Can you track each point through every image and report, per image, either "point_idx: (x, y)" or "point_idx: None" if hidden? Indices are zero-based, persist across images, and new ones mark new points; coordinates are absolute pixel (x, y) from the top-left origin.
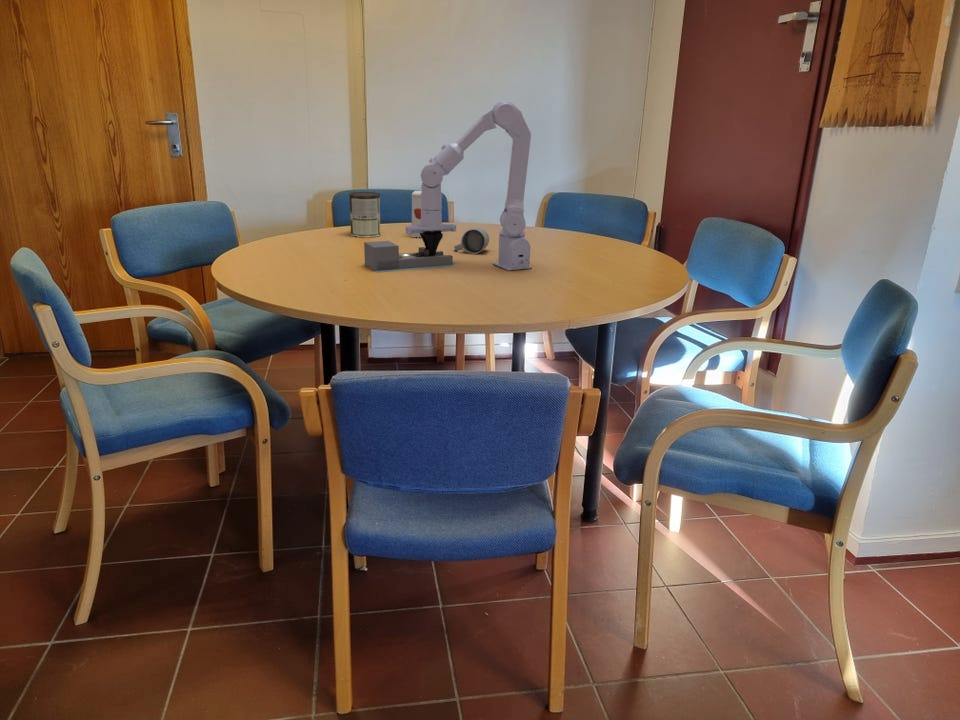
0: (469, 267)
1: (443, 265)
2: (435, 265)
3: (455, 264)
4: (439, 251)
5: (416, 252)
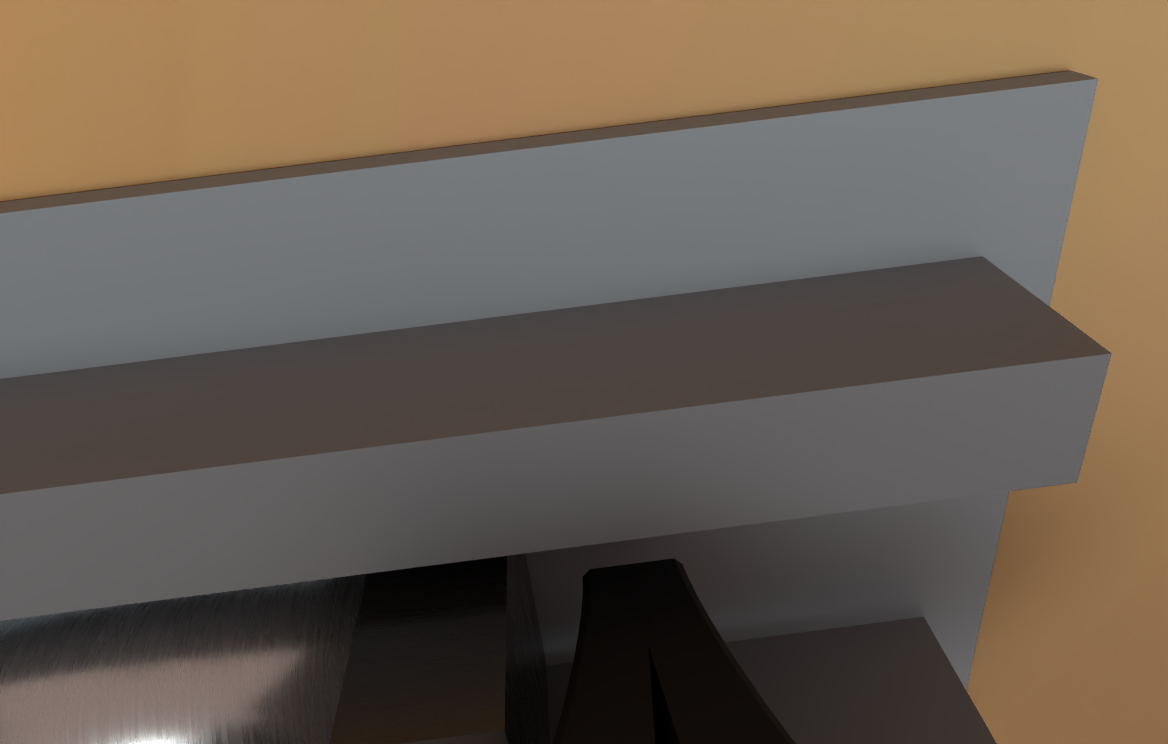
0: (1092, 714)
1: None
2: None
3: (968, 671)
4: (1011, 433)
5: (329, 455)
